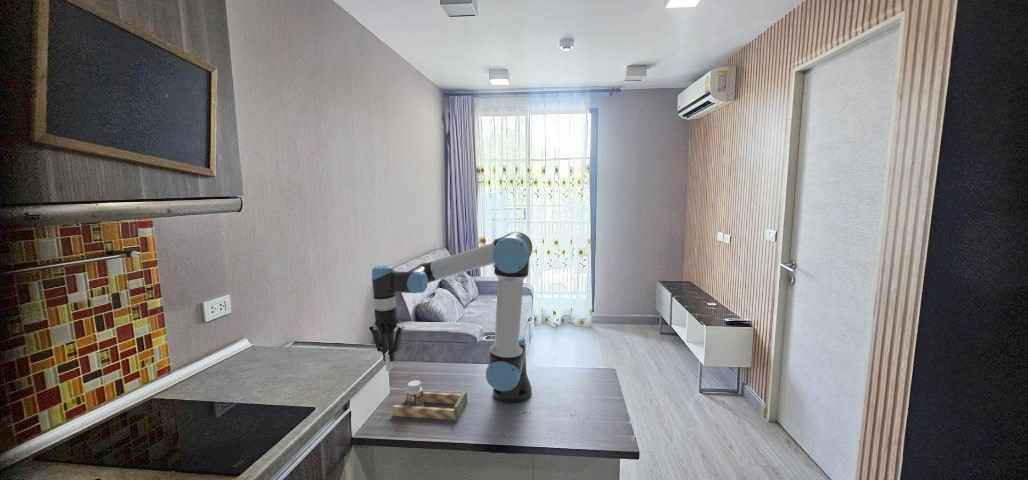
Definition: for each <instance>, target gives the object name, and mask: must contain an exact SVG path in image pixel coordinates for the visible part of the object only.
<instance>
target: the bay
mask: <svg viewBox="0 0 1028 480" xmlns="http://www.w3.org/2000/svg"><path fill="white" fill-rule="evenodd" d="M467 392H468V391H467V390H463V391H462V393H453V392H436V391H432V392H431V391H423V401H424V403H433V404H434V403H435V404H450V405H451V404H452V405H454V406H453V408H448V407H447V408H445V407H434V406H433V407H431V406H424V407H418V406H408V405H402V404H401V405H399V404H394V405H393V406H392V413H393V414H392V415H393V417H406V418H419V419H420V418H422V419H435V420H450V421H459V419H460V417H461V415H462V414H463V412H464V410H465V408H466V406H467V404H468V393H467ZM404 394H405V397H404V398H405V401H407V390H405V393H404ZM407 402H408V401H407Z"/></svg>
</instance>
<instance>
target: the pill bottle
mask: <svg viewBox="0 0 1028 480" xmlns="http://www.w3.org/2000/svg"><path fill="white" fill-rule="evenodd" d="M406 391H407V406H418V407H425V405H424V403H425V402H424V401H423V392H424V391H423V387H422V383H421V380H411V381H409V382H408V383H407V390H406Z"/></svg>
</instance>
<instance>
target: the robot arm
mask: <svg viewBox="0 0 1028 480" xmlns="http://www.w3.org/2000/svg"><path fill="white" fill-rule="evenodd" d="M532 253H533V243H532V240H531V238H530V237H529V236H528V235H527V234H525V233H523V232H520V231H513V232H509V233H507V234H505V235H504V236H501V237H498V238H496V239H493V241H492V242H491V243H488V244H485V245H481V246H478V247H475V248H472V249H469V250H465V251H462V252H459V253H455V254H452V255H449V256H445V257H442V258H439V259H436V260H433V261H430V262H424V263H423V262H422V263H421V264H418V265H417V266H416V267H414V268H412V269H411V268H410V269H409V270H408V271H396V270H395V269H394V267H393V265H388V264H382V265H376V266H374V267H373V268H372V270H371V283H372V291H373V293H372V295H373V308H374V319H375V321H374V324H372V325H371V326H369V327H368V329H369V331H370V332H371V335H372V337H373V341H374V344H375V347H376V350H377V352H380V353H382V359H383V362H385V371H387V372H391V371H392V370H393V368H394V361H395V353H396V352H398V351H399V350H400V345H401V341H402V340H401V339H402V333H403V331H404V329H405V326H404V325H400V324H399V321H398V320H397V319H398V318H397V307H396V306H397V304H396V303H397V301H396V293H397V294H398V293H403V294H404V293H405V294H406V293H407V294H421V293H424V292H426V290H427V288H428V284H429V283H432V282H436V281H439V280H442V279H445V278H449V277H452V276H453V277H454V276H456V275H459V274H462V273H463V274H464V273H466V272H469V271H473V270H477V269H480V268H483V267H486V266H490V265H493V264H494V271H493V272H494V275H495V277H497V279H498V280H497V293H496V294H497V295H496V296H497V297H496V310H495V311H496V312H495V325H494V326H495V327H494V343H493V344H492V345H490V347H489V353H488V356H489V357H488V365H487V367H486V370H485V379H486V382H487V384H489V385H490V386H491V388H492V392H493V393H492V395H493V397H494V399H495V400H497V401H499V402H500V403H501V402H502V403H506V404H517V403H521V402H524V401H526V400H528V399H529V398H530V397H531V396H532V385H531V382H530V380H529V376H528V374H527V373H528V372H527V352H526V351H527V350H526V349H527V348H526V346H527V343H526V338H525V337H523V336H522V335H520V329H521V317H522V316H521V315H522V304H523V303H522V302H523V290H524V289H523V287H524V280H525V279H526V278H527V277H528V276H529V267H530V266H529V265H530V257H531V255H532ZM395 331H396V332H395ZM394 335H395V336H394Z"/></svg>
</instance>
